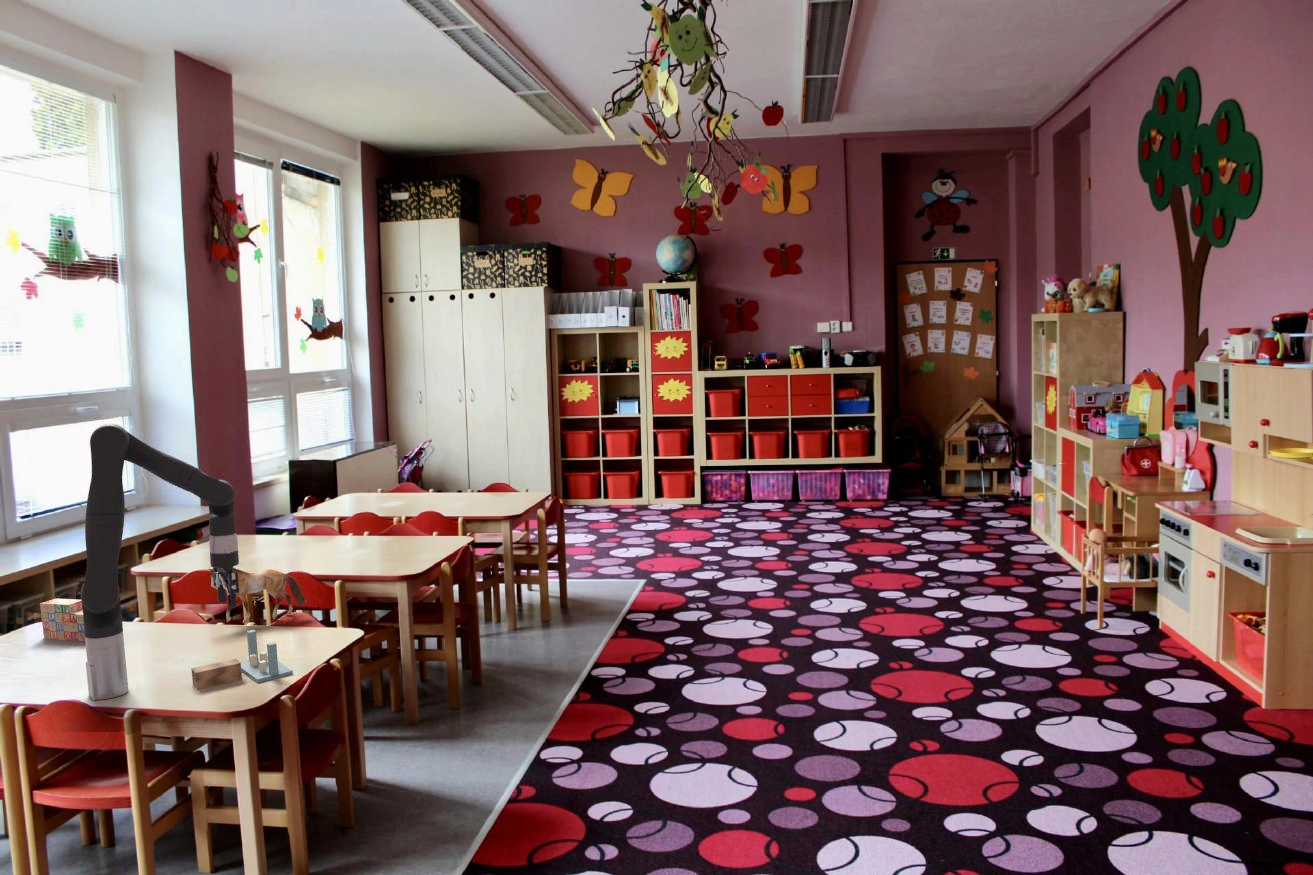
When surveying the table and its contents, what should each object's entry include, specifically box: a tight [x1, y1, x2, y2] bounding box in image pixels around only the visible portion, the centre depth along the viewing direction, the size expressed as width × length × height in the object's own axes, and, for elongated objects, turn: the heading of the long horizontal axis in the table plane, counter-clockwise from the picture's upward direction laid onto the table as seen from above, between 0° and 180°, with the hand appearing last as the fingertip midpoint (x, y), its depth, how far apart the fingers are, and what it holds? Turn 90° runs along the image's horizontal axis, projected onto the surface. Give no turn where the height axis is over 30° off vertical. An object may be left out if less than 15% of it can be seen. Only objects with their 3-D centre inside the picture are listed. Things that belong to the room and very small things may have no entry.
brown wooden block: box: [190, 658, 243, 690], centre depth 278 cm, size 12×5×5 cm, turn 128°
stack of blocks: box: [39, 598, 85, 642], centre depth 325 cm, size 21×6×12 cm, turn 73°
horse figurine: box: [207, 567, 308, 624], centre depth 339 cm, size 31×8×21 cm, turn 104°
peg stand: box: [239, 629, 294, 683], centre depth 286 cm, size 10×19×10 cm, turn 41°
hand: (227, 604), depth 283 cm, fingers open, 8 cm apart
